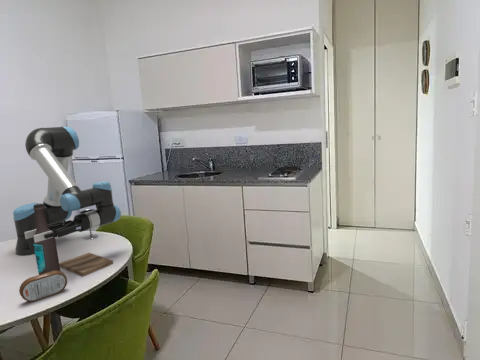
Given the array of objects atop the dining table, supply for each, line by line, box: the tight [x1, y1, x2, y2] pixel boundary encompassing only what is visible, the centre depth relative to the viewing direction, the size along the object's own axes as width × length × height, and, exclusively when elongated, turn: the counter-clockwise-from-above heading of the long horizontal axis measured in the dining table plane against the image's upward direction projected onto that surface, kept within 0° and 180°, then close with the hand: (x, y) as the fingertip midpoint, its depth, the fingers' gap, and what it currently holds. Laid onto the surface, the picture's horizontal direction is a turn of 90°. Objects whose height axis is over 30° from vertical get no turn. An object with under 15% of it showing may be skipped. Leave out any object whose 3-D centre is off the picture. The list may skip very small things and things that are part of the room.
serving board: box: [59, 252, 114, 277], centre depth 149 cm, size 20×14×2 cm
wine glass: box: [79, 208, 99, 240], centre depth 188 cm, size 8×8×15 cm
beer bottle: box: [33, 203, 61, 275], centre depth 135 cm, size 8×8×30 cm
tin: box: [19, 270, 68, 302], centre depth 123 cm, size 15×3×8 cm, turn 131°
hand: (29, 237), depth 131 cm, fingers closed on beer bottle, 7 cm apart
